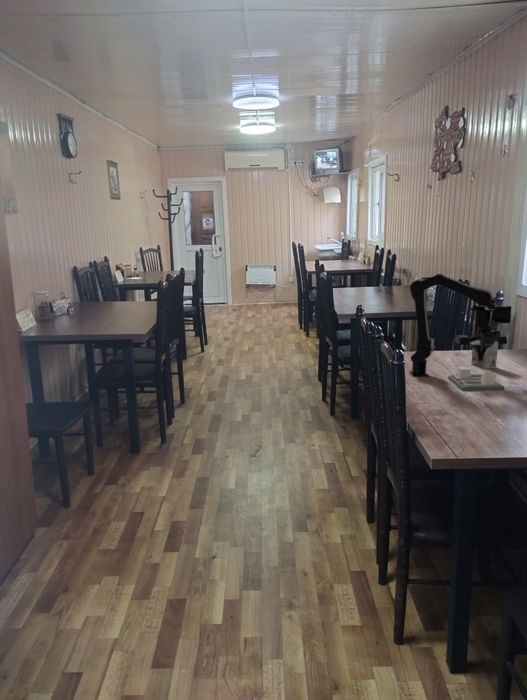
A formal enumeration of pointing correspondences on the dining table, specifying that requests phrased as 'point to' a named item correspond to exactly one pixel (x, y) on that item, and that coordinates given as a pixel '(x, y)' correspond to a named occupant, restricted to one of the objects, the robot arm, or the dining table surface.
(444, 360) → the dining table surface
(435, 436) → the dining table surface
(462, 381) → the switch panel
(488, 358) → the coffee box
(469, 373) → the light grey cube
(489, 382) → the beige cube
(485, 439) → the dining table surface
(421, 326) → the robot arm
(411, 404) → the dining table surface
